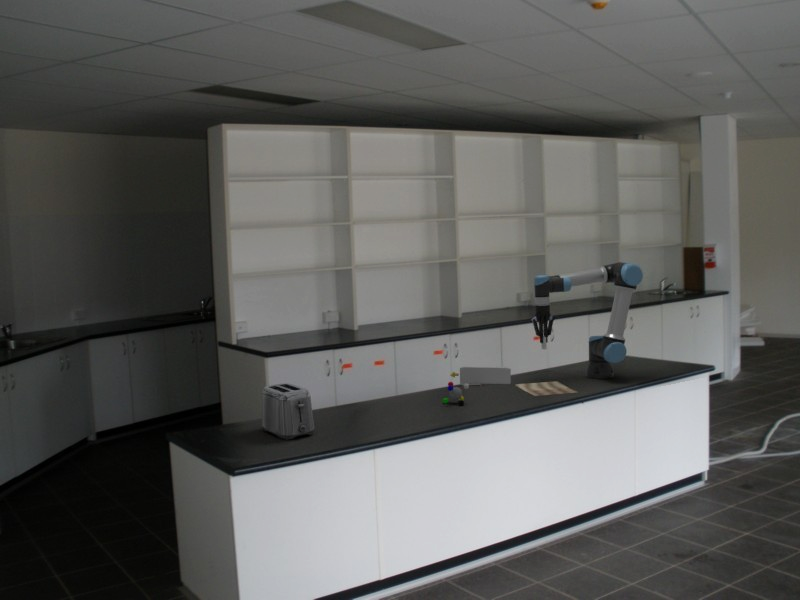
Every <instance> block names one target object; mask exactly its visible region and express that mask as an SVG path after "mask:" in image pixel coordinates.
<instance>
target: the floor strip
mask: <svg viewBox="0 0 800 600" xmlns="http://www.w3.org/2000/svg"><path fill="white" fill-rule="evenodd" d="M527 393H528V394H529V395H532V396H534V397H537V396H548V395H549V396H551V395H561V394H562V395H563V394H574V393H578V394H579V391H577V390H575V389H572V388H570V387H568V388H566V389H553V390H540V391H527Z"/></svg>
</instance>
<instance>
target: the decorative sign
mask: <svg viewBox="0 0 800 600" xmlns="http://www.w3.org/2000/svg"><path fill="white" fill-rule="evenodd" d="M511 369H512V368H511V367H508V366H507V367H506V366H470V365H469V366H468V365H467V366H461V367H459V373H456V371H453V372H452V373H450V375H449V376H450V377H452V378H456V377H458V376H459V384H460V386H464V384H466V383H467V384H468V385H480V386H479V387H485V385H486V384H487V385H511V380H512V379H511V378H512V376H511V375H512V372H511V371H512V370H511ZM475 382H476V383H475ZM470 383H471V384H470Z"/></svg>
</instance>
